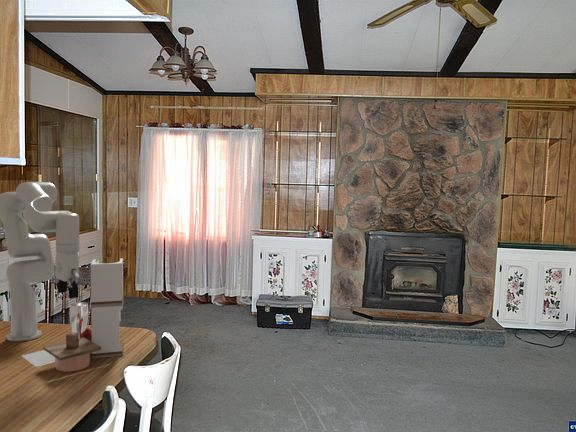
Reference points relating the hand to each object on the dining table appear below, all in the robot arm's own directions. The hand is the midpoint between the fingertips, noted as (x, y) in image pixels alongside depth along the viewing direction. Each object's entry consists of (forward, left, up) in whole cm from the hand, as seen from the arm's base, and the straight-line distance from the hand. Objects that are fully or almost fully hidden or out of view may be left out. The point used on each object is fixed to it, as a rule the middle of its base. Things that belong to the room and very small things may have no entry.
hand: (67, 295), depth 168 cm
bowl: (+7, -1, -24) cm, 25 cm away
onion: (-8, +11, -24) cm, 28 cm away
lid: (+7, -1, -18) cm, 19 cm away
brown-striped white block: (+3, +14, -24) cm, 28 cm away
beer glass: (-18, +12, -24) cm, 32 cm away
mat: (-8, -3, -24) cm, 25 cm away
